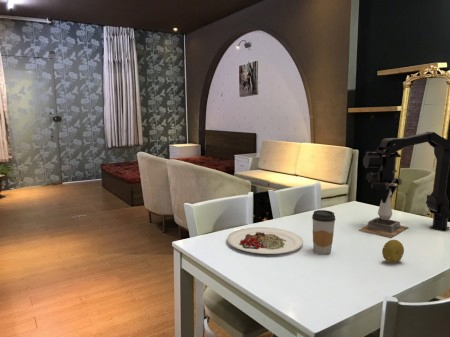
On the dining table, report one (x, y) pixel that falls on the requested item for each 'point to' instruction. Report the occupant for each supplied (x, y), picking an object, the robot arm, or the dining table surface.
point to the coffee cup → (323, 231)
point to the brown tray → (383, 227)
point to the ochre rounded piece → (393, 251)
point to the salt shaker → (385, 209)
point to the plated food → (265, 240)
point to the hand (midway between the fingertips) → (385, 202)
